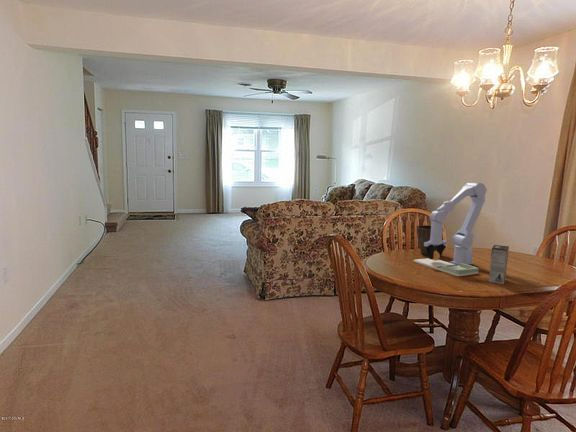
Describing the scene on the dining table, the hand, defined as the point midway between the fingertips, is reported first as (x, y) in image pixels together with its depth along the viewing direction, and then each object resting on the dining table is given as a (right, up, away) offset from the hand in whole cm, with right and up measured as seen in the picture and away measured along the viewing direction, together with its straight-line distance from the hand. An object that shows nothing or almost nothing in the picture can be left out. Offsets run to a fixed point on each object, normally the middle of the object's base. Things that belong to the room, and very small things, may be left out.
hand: (434, 258), depth 212 cm
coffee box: (+19, -8, -28) cm, 35 cm away
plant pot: (+5, 0, +25) cm, 25 cm away
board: (+3, -4, -6) cm, 8 cm away
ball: (0, +1, 0) cm, 2 cm away
